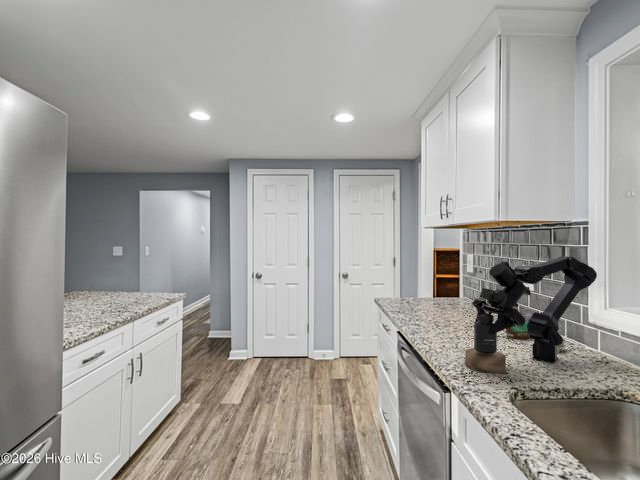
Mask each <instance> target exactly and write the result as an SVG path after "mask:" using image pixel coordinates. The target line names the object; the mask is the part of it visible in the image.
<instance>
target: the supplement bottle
mask: <svg viewBox="0 0 640 480" xmlns="http://www.w3.org/2000/svg"><path fill="white" fill-rule="evenodd" d="M477 320H478V321H477V322H476V323H475V322H474V325H473V328H474V329H473V348H474V349H475V350H476V351H478V352H481V353H486V354H493V353H496V351H497V352H498V350H497V346H498V344H497V342H498V332H497V333H495V334H492V335H490V334H489V331H490V329H491V327H492V326H493V324H494V323H495V321H494V320H495V319H494V314H485V313H480V314H478V318H477Z"/></svg>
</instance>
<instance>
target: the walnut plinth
mask: <svg viewBox="0 0 640 480" xmlns="http://www.w3.org/2000/svg"><path fill="white" fill-rule="evenodd" d="M464 353H465V355H464V357H465V360H464V361H465V363H464V364H465V365H466V367H467V368H469V369H471V370H473V371H476V372H479V373H485V374H501V373H504V372H506V369H507V367H506V363H507V362H506V359H507V358H506V357H507V356H506V355H505V354H504V353H503V352H500V351H498V350H497V351H496V353H493V354H486V353H481V352H478V351H476V350H475V349H474V347H473V348H468V349H466V350H465V352H464Z"/></svg>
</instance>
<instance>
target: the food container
mask: <svg viewBox="0 0 640 480" xmlns="http://www.w3.org/2000/svg"><path fill="white" fill-rule="evenodd" d="M522 315H523V316H524V318H525V324H524V325H523V326H522V327H520V326H517V325H516V326H515V327H510V328H507V329H505V335H506V338H508V339H514V340H527V339H529V338H530V336H529V333H528V330H527V324H528V322H529V321H528V320H529V319H530V318H531V317H532V315H531V313H529V312H525V313H524V314H522Z"/></svg>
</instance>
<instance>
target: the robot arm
mask: <svg viewBox="0 0 640 480" xmlns="http://www.w3.org/2000/svg"><path fill="white" fill-rule="evenodd" d="M488 272H489V275H490V277H491V278H492V279H494V281H495V282H496V283H497V284H498V285H499V287H502V288H503V289H498V288H496V289H495V290H493V289H491V288H490V289H489V288H485V287H482V288H481V290H480V291H481V292H480V294H479V298H482V299H478V298H476V299H474V300H473V301H472V303H471V305H473V307H474V308H475V309H476V311H477V313H476V318H475V321H474V324H475V323H476V322H477V321H478V320H477V318H478V314H480V313H485V314H491V315H493V314H495V315H497V318H496V319H495V321H494V322H493V323H494V324H493V326H492V327H491V329H490V331H489V334H490V335H492V334H495V333H497V334H498V333H500V332H501V331H504V330H506V329H507V328H510V327H515V326H516V325H517V326H520V327H522V326H523V325H524V324H525V318H524V316H523V314H522V313H521V312H520V311H519V310H518V309H517V308H518V307H519V303H518V302H519V301H520V299H521V298H523V295H527V296H531V293H532V292H531V290H530V287H529V286H526V285H525V284H528V285H529V284H530V285H536V284H537V283H539V282H541V281H542V280H543V279H544V278H545V277H546V276H548V275H552V274H555V273H559V272H562V274H563V277H564V284H563V285H562V286H561V288H560V289H559V290H558V291H557V293H556V294H555V296H554V297H553V298H552V299H551V301H550V302H549V304H548V305H547V307H545V309H544V310H543V311H542V312H541V313H540V312H537V311H535V312H533V313H532V315H531V318H530V319H529V320H528V321H529V322H528V324H527V330H528V333H529V338H530V339H531V340H534V341H533V343H532V347H531V348H532V353H531V354H532V359H533V360H537V361H543V362H545V363H546V362H547V363H551V364H556V362H557V361H559V360H560V359H559V357H558V353H557V346H559V345H561V344H562V342H563V340H564V338H562V336H563V335H561V334H560V333H559V328H560V325H559V320H560V319H561V318H562V316H563V315H564V313H565V312H566V311H567V309H568V307H570V305H571V303H572V302H573V301H574V299H576V297H577V295H578V294H579V292H580V291H582V290H584V289H586V288H589V287H590V286H591V285H592V284H594V282H595V281H596V279H597V278H598V277H597V276H598V273H597V272H596V270H595V269H594V267H592V266H590V265H588V264H586V263H584V262H581V261H579V260H578V259H577V258H576V257H574V256H565V255H564V256H563V255H562V256H561V255H560V256H558V257H557V258H553V259H550V260H547V261H544V262H541V263H540V262H539V263H538V264H530V265H529V264H528V265H527V264H526V265H525V264H524V265H517V266H515V267H514V269H513V268H512V267H511V266H510V263H509V262H508V261H501V262H500V263H498V264H495V265H494V266H492V267H491V268H490V269H489V271H488ZM483 299H484V300H483ZM486 300H487V302H486Z"/></svg>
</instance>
